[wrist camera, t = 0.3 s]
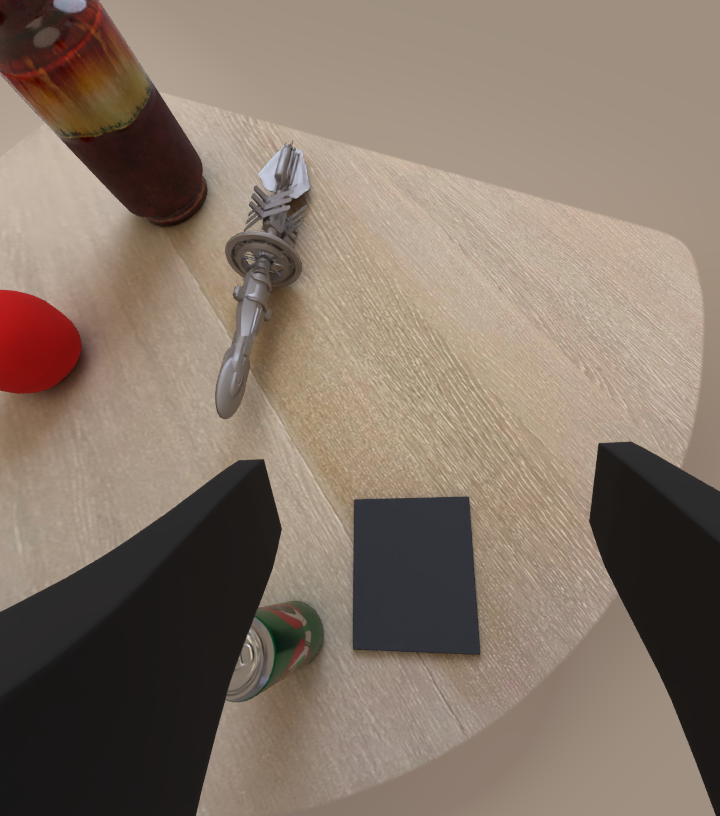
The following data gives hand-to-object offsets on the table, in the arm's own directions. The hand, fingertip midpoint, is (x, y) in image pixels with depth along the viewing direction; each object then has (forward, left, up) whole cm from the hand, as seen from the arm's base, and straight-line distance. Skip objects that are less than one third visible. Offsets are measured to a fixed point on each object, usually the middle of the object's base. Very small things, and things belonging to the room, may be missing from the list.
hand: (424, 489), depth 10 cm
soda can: (-7, +13, -31) cm, 34 cm away
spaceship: (+28, +17, -31) cm, 45 cm away
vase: (+43, +32, -31) cm, 62 cm away
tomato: (+21, +44, -31) cm, 58 cm away
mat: (-2, +3, -31) cm, 31 cm away
